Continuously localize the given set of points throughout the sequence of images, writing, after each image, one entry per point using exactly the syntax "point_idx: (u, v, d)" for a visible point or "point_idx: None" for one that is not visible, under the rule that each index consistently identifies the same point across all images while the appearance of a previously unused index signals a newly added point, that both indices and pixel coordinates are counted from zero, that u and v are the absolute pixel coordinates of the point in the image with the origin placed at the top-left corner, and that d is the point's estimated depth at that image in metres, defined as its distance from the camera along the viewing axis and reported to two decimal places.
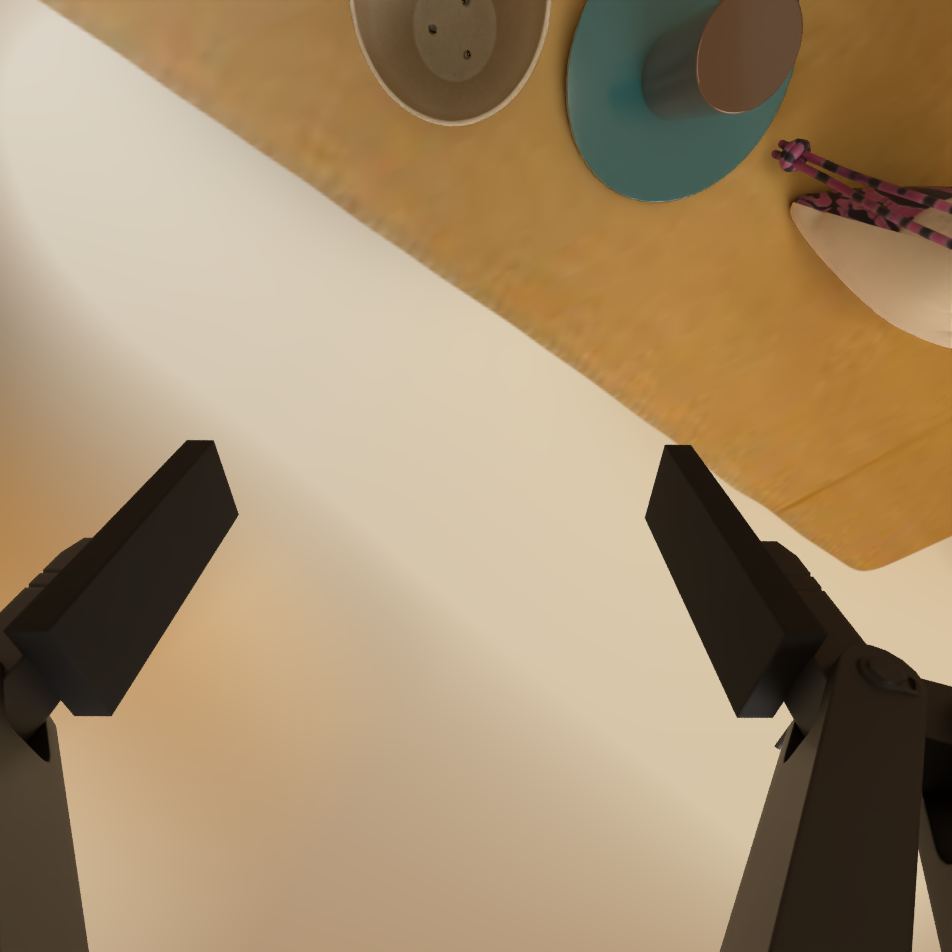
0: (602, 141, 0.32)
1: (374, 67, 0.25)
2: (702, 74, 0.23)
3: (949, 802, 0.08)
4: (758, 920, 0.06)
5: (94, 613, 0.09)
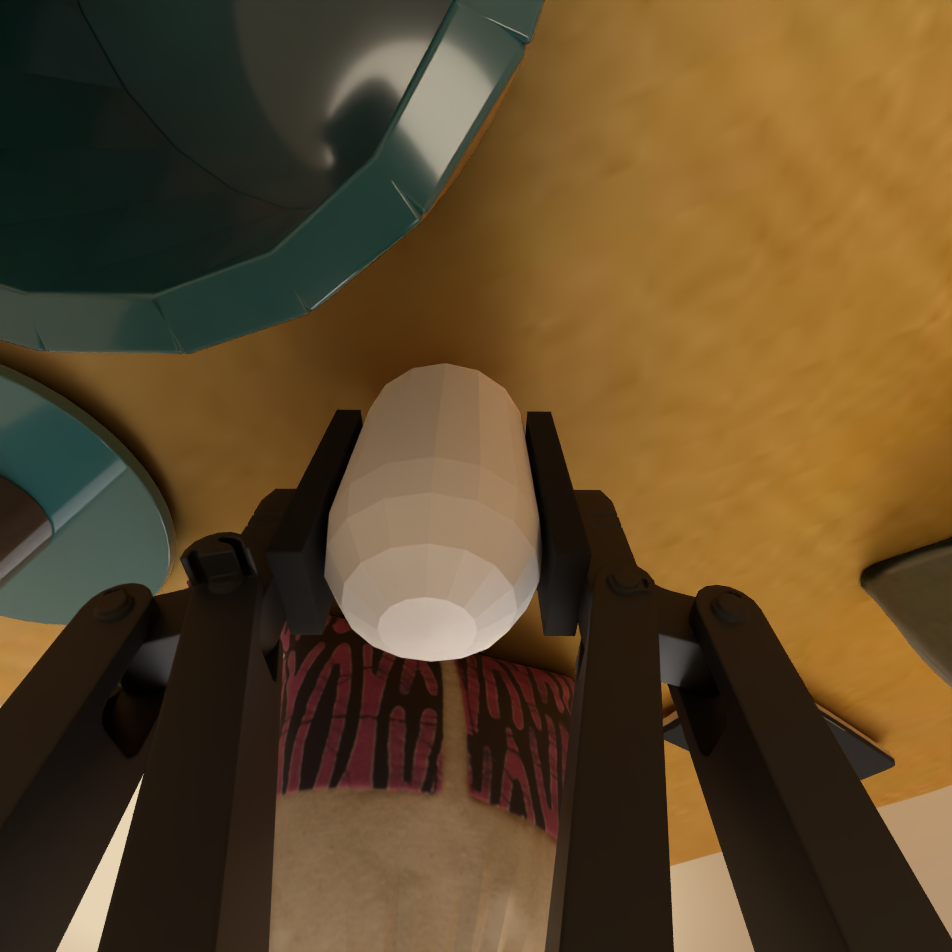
0: None
1: None
2: None
3: (701, 699, 0.10)
4: (566, 835, 0.07)
5: (316, 544, 0.11)
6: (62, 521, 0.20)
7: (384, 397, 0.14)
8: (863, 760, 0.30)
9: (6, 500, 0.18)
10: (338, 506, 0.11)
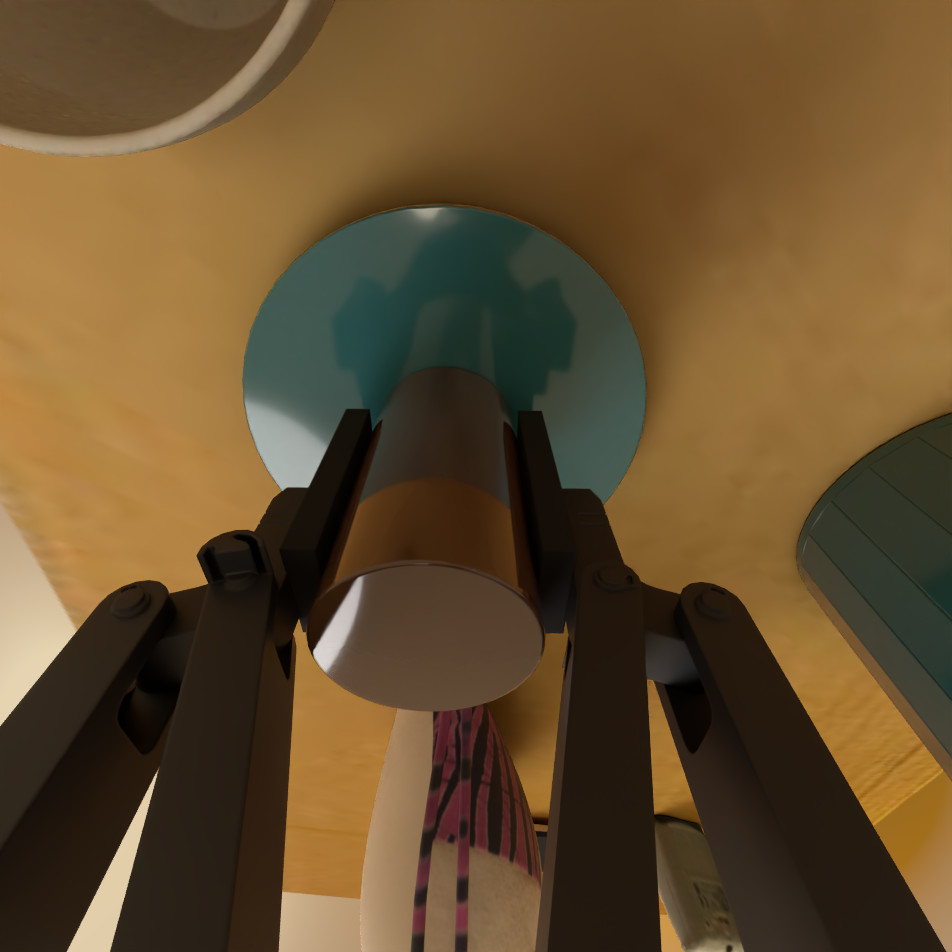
0: (288, 377, 0.16)
1: None
2: (330, 608, 0.09)
3: (687, 696, 0.10)
4: (554, 832, 0.07)
5: (329, 542, 0.11)
6: None
7: None
8: None
9: None
10: None
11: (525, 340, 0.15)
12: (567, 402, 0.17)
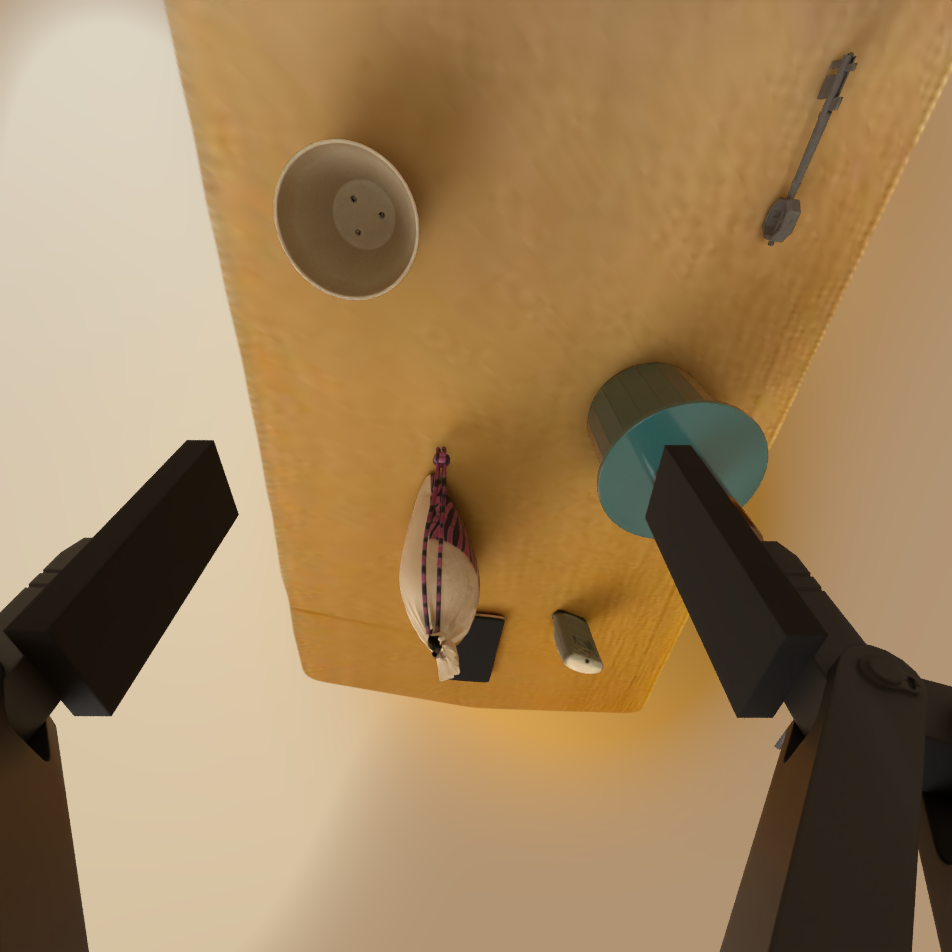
0: (624, 457, 0.40)
1: (279, 188, 0.32)
2: None
3: (949, 802, 0.08)
4: (759, 920, 0.06)
5: (94, 613, 0.09)
6: None
7: None
8: (483, 673, 0.73)
9: None
10: None
11: (723, 444, 0.39)
12: (734, 466, 0.40)
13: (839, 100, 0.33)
